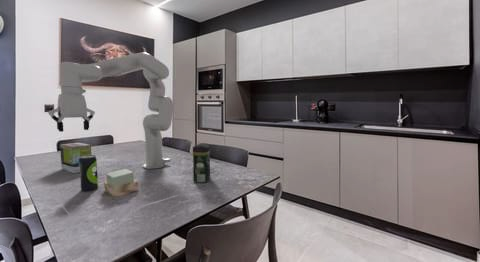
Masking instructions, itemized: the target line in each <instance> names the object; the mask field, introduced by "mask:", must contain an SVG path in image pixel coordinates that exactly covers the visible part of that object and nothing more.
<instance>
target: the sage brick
mask: <svg viewBox="0 0 480 262" xmlns="http://www.w3.org/2000/svg"><path fill="white" fill-rule="evenodd" d="M105 175H106V182H107V183H109V184H110V185H112V186H113V187H116V186H120V185H123V184H126V183H130V182H133V181H134V179H135V177H134V172H133V171H132V170H129V169H127V168H123V169H118V170H114V171H111V172H108V173H106V174H105Z"/></svg>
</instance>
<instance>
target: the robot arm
mask: <svg viewBox="0 0 480 262" xmlns="http://www.w3.org/2000/svg"><path fill="white" fill-rule="evenodd" d="M140 70H142V73H143V76H144V78H145V79H146V81H147V82H148V84H149V86H150V91H149V97H148V102H147V103H148V104H147V106H148V110H149V111H150V112H153V113H150V114H147V115H145V117H144V118H143V120H142V126H143V130H144V141H145V143H144V147H145V163H144V164H143V165H142V167H143V168H144V169H145V170H146V169H147V170H154V169H156V170H157V169H161V168H164V167H165V166H166V163H170V162H171V158H164V157H163V135H162V132H166V131H169V129H170V128H171V127H172V120H173V116H174V101H173V100H172V98H171V97H169V96H167V95H166V86H165V83H164V82H163V80H166V79H167V78H168V77H169V75H170V70H169V68H168V67H167V66H166V64H164V63H163V62H161V61H160V60H159V59H157V57H155V56H154V55H151V54H150V53H147V52H137V53H132V54H128V55H122V56H117V57H112V58H109V59H105V60H102V61H98V62H93V63H87V64H86V63H85V64H84V63H76V62H73V61H72V62H71V61H62V62H61V63H59V76H60V77H59V78H60V94H58V97H57V107H56V108H55V109H52V110H49V111H47V112H48V115H49V117H50V118H51V119H52V120H54V121H55V122H56V129H57V130H58V132H64V122H63V121H64V119H65V118H71V119H72V118H82V119H83V120H84V121H83V130H84V131H89V129H90V121H91V120H92V119H93V117H94V115H95V113H96V112H95V111H94V110H92V109H91V108H88V107H87V101H86V97H85V95H84V94H85V93H86V92H87V91H86V89H84V88H83V83H89V82H90V83H91V82H97V81H101V79H102V78H107V77H117V76H122V75H125V74H129V73H132V72H137V71H140ZM56 113H57V116H58V117H57V116H56V115H55V114H56ZM88 113H89V115H88ZM157 113H158V114H157Z"/></svg>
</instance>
